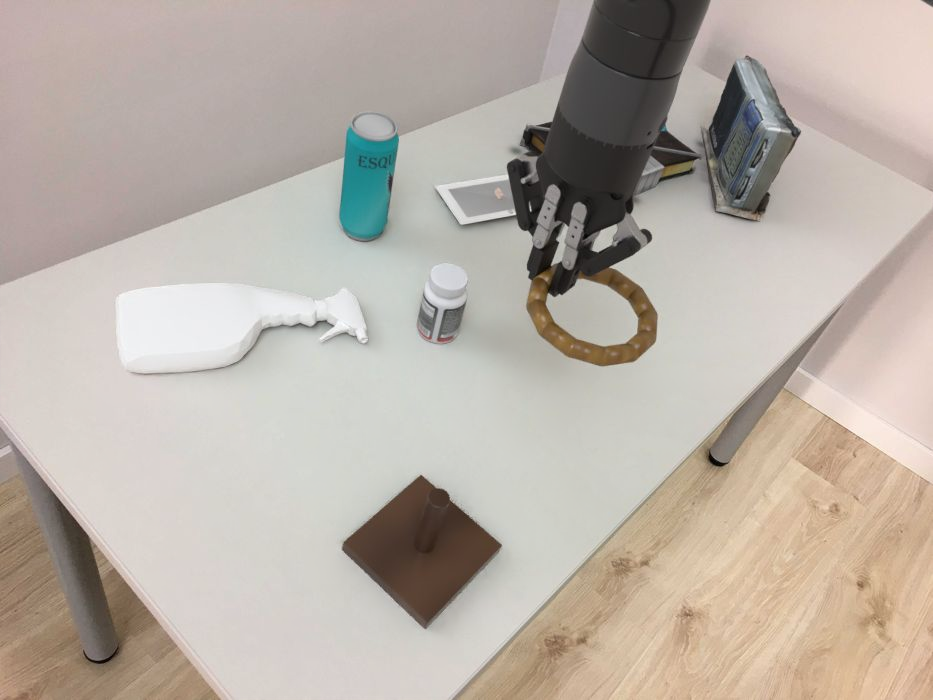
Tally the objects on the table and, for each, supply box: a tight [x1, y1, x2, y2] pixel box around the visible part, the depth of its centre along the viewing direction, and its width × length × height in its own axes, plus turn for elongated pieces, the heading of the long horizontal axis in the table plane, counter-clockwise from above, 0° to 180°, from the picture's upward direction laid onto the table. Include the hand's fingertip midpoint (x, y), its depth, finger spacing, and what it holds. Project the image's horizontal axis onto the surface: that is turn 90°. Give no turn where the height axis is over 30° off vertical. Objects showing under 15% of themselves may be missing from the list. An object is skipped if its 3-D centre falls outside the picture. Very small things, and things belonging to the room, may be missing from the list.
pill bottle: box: [416, 262, 469, 345], centre depth 85 cm, size 5×5×8 cm
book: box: [519, 121, 704, 196], centre depth 115 cm, size 22×17×5 cm
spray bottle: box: [114, 282, 369, 374], centre depth 82 cm, size 3×11×24 cm
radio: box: [700, 54, 802, 221], centre depth 115 cm, size 23×9×15 cm, turn 168°
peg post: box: [341, 474, 503, 630], centre depth 67 cm, size 10×10×10 cm
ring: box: [525, 262, 659, 367], centre depth 67 cm, size 11×11×2 cm
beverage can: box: [338, 110, 400, 242], centre depth 91 cm, size 6×6×15 cm
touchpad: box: [434, 173, 531, 226], centre depth 104 cm, size 8×15×2 cm, turn 117°
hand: (547, 283), depth 69 cm, fingers closed on ring, 1 cm apart
